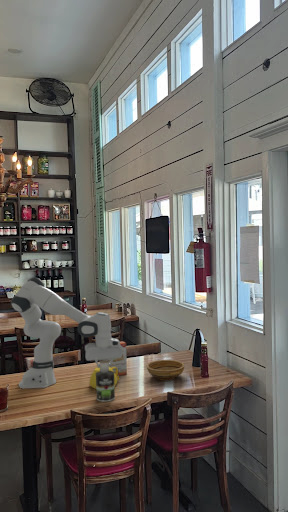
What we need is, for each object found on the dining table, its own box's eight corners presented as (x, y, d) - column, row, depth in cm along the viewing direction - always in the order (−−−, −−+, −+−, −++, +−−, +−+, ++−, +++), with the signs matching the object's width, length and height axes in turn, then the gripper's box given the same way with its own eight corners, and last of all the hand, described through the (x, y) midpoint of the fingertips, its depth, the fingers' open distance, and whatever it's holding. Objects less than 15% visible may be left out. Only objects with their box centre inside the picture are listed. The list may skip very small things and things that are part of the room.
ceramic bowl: (194, 381, 264) (194, 368, 264) (158, 387, 255) (157, 374, 255) (172, 368, 292) (172, 356, 291) (139, 374, 282) (138, 361, 282)
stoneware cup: (100, 372, 237) (100, 361, 236) (98, 370, 242) (98, 359, 241) (110, 371, 238) (109, 360, 238) (108, 369, 243) (108, 358, 243)
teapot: (85, 384, 264) (84, 364, 264) (113, 379, 274) (112, 359, 273) (99, 394, 247) (98, 372, 247) (128, 387, 256) (127, 366, 256)
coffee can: (116, 400, 236) (115, 375, 236) (97, 402, 235) (96, 376, 234) (114, 394, 246) (113, 369, 246) (95, 395, 245) (95, 371, 244)
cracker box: (107, 378, 276) (105, 345, 275) (103, 375, 281) (102, 343, 280) (127, 374, 282) (126, 342, 281) (123, 372, 287) (122, 340, 286)
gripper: (85, 345, 234) (86, 370, 234) (122, 341, 239) (123, 366, 239) (84, 342, 240) (84, 367, 240) (120, 339, 245) (121, 363, 245)
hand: (104, 366), depth 240 cm, fingers closed on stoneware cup, 5 cm apart
